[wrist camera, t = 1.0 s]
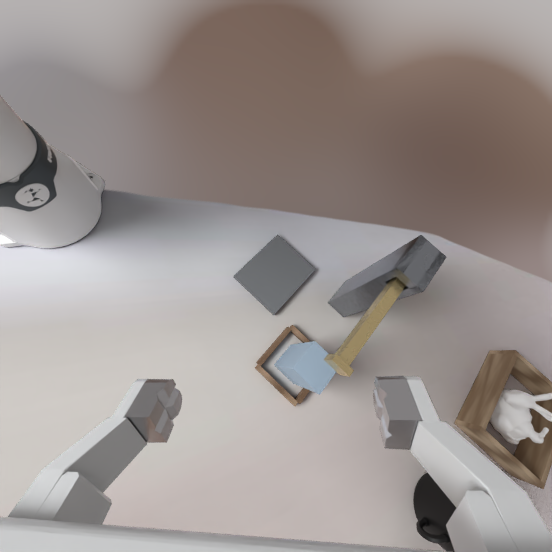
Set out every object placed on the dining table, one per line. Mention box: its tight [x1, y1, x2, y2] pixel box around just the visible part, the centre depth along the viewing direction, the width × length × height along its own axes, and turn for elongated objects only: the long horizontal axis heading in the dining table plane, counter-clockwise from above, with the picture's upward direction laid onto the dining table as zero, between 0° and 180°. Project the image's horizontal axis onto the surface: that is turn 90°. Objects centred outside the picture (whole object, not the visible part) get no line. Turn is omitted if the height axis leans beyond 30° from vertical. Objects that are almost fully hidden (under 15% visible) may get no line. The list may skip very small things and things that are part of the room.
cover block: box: [274, 341, 336, 394], centre depth 39 cm, size 4×4×13 cm
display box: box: [455, 350, 552, 489], centre depth 47 cm, size 13×17×5 cm
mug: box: [414, 473, 456, 552], centre depth 38 cm, size 9×12×9 cm
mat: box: [234, 235, 315, 315], centre depth 48 cm, size 10×12×1 cm
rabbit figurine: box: [490, 389, 552, 444], centre depth 45 cm, size 12×8×10 cm, turn 12°
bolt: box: [324, 277, 406, 377], centre depth 30 cm, size 2×15×2 cm, turn 138°
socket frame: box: [255, 325, 310, 406], centre depth 44 cm, size 10×10×1 cm
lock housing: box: [328, 235, 446, 317], centre depth 40 cm, size 4×6×21 cm, turn 138°
